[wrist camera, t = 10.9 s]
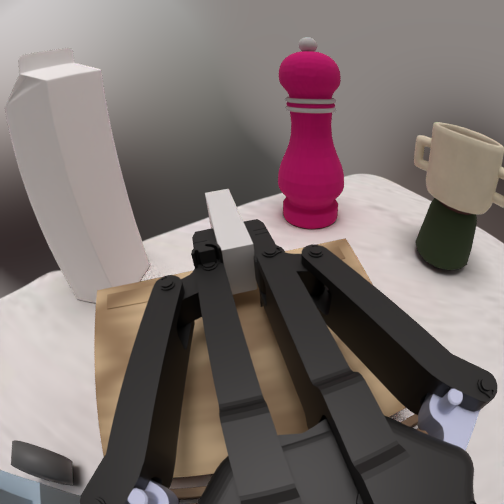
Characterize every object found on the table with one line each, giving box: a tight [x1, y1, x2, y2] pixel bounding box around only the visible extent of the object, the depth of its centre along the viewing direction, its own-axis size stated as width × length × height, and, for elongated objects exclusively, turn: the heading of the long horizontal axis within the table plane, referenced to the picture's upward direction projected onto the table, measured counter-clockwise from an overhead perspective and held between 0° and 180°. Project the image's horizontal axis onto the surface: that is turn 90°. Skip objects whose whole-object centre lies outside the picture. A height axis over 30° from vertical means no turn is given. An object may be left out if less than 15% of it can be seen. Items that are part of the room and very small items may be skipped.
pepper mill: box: [278, 37, 344, 229], centre depth 26 cm, size 7×7×20 cm
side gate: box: [95, 238, 406, 478], centre depth 13 cm, size 16×2×11 cm
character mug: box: [414, 122, 504, 270], centre depth 20 cm, size 11×7×13 cm, turn 33°
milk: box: [5, 48, 150, 303], centre depth 18 cm, size 6×6×22 cm
